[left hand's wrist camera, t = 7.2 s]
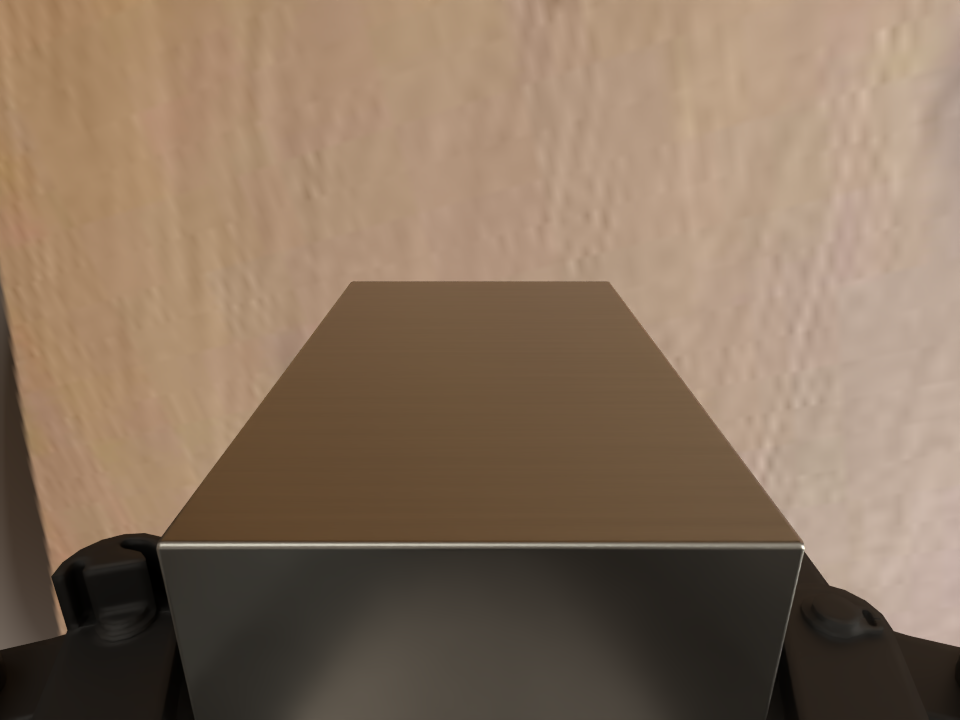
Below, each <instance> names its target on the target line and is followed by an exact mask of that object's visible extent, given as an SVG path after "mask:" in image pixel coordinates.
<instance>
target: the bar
mask: <svg viewBox="0 0 960 720" xmlns="http://www.w3.org/2000/svg"><path fill="white" fill-rule="evenodd" d="M157 554H158V558H159V562H160V567H161V571H162V576H163V580H164V585H165V589H166V594H167V598H168V603H169V607H170V611H171V616H172V620H173V625H174V629H175V634H176V638H177V643H178V647H179V652H180V656H181V660H182V665H183V669H184V674H185V678H186V683H187V687H188V692H189V696H190V701H191V705H192V709H193V714H194V718H195V720H766V718H767V713H768V709H769V704H770V700H771V695H772V691H773V687H774V682H775V678H776V673H777V669H778V664H779V660H780V656H781V651H782V647H783V642H784V638H785V633H786V629H787V624H788V620H789V616H790V611H791V607H792V602H793V598H794V593H795V589H796V585H797V580H798V576H799V571H800V567H801V562H802V558H803V554H804V543H803V541H802V540H801V538H800V537H799V536H798V534H797V533H796V532H795V530H794V529H793V528H792V526H791V525H790V524H789V522H788V521H787V520H786V518H785V517H784V516H783V514H782V513H781V512H780V510H779V509H778V508H777V506H776V505H775V503H774V502H773V501H772V499H771V498H770V497H769V495H768V494H767V493H766V491H765V490H764V489H763V487H762V486H761V485H760V483H759V482H758V481H757V479H756V478H755V477H754V475H753V474H752V473H751V471H750V470H749V469H748V467H747V466H746V465H745V463H744V462H743V461H742V459H741V458H740V457H739V455H738V454H737V453H736V451H735V450H734V449H733V447H732V446H731V445H730V443H729V442H728V441H727V439H726V438H725V437H724V435H723V434H722V433H721V431H720V430H719V429H718V427H717V426H716V425H715V423H714V422H713V420H712V419H711V418H710V416H709V415H708V414H707V412H706V411H705V410H704V408H703V407H702V406H701V404H700V403H699V402H698V400H697V399H696V398H695V396H694V395H693V394H692V392H691V391H690V390H689V388H688V387H687V386H686V384H685V383H684V382H683V380H682V379H681V378H680V376H679V375H678V374H677V372H676V371H675V370H674V368H673V367H672V366H671V364H670V363H669V362H668V360H667V359H666V358H665V356H664V355H663V354H662V352H661V351H660V350H659V348H658V347H657V346H656V344H655V343H654V341H653V340H652V339H651V337H650V336H649V335H648V333H647V332H646V331H645V329H644V328H643V327H642V325H641V324H640V323H639V321H638V320H637V319H636V317H635V316H634V315H633V313H632V312H631V311H630V309H629V308H628V307H627V305H626V304H625V303H624V301H623V300H622V299H621V297H620V296H619V295H618V293H617V292H616V291H615V289H614V288H613V287H612V285H611V284H610V283H609V282H351V283H350V284H349V286H348V287H347V288H346V290H345V291H344V292H343V294H342V295H341V296H340V298H339V299H338V301H337V302H336V303H335V305H334V306H333V307H332V309H331V310H330V311H329V313H328V314H327V315H326V317H325V318H324V319H323V321H322V322H321V323H320V325H319V326H318V327H317V329H316V330H315V331H314V333H313V334H312V335H311V337H310V338H309V339H308V341H307V342H306V343H305V345H304V346H303V348H302V349H301V350H300V352H299V353H298V354H297V356H296V357H295V358H294V360H293V361H292V362H291V364H290V365H289V366H288V368H287V369H286V370H285V372H284V373H283V374H282V376H281V377H280V378H279V380H278V381H277V382H276V384H275V385H274V386H273V388H272V389H271V390H270V392H269V393H268V395H267V396H266V397H265V399H264V400H263V401H262V403H261V404H260V405H259V407H258V408H257V409H256V411H255V412H254V413H253V415H252V416H251V417H250V419H249V420H248V421H247V423H246V424H245V425H244V427H243V428H242V429H241V431H240V432H239V433H238V435H237V436H236V437H235V439H234V440H233V442H232V443H231V444H230V446H229V447H228V448H227V450H226V451H225V452H224V454H223V455H222V456H221V458H220V459H219V460H218V462H217V463H216V464H215V466H214V467H213V468H212V470H211V471H210V472H209V474H208V475H207V476H206V478H205V479H204V480H203V482H202V483H201V484H200V486H199V487H198V489H197V490H196V491H195V493H194V494H193V495H192V497H191V498H190V499H189V501H188V502H187V503H186V505H185V506H184V507H183V509H182V510H181V511H180V513H179V514H178V515H177V517H176V518H175V519H174V521H173V522H172V523H171V525H170V526H169V527H168V529H167V530H166V531H165V533H164V534H163V536H162V537H161V538H160V540H159V541H158V543H157Z"/></svg>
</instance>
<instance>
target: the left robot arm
mask: <svg viewBox="0 0 960 720" xmlns="http://www.w3.org/2000/svg"><path fill="white" fill-rule="evenodd" d="M160 538H161V537H159V536H155V535H150V534H146V533H139V534H123V535H119V536H116V537H112V538H108V539H104V540H101V541H99V542H96V543H94V544H92V545H90V546H87V547H85V548H83V549H81V550H79V551H78V552H76V553H75V554H74V555H72V556H71V557H69V558H68V559H67V560H65V561H64V562H62V564H61V565H60V566H59V568H58V569H57V570H56V571H55V573H54V574H53V575H52V576H51V577H52V581H53V584H54V587H55V591H56V594H57V597H58V600H59V604H60V607H61V610H62V614H63V617H64V620H65V623H66V627H67V630H68V631H67V633H66V634H65V635H62V636H58V637H55V638H52V639H48V640H43V641H38V642H34V643H30V644H26V645H21V646H17V647H12V648H8V649H4V650H0V720H195V718H194V714H193V709H192V705H191V701H190V696H189V692H188V687H187V683H186V678H185V674H184V669H183V665H182V660H181V656H180V652H179V647H178V643H177V638H176V634H175V629H174V625H173V620H172V616H171V611H170V607H169V603H168V598H167V594H166V589H165V585H164V580H163V576H162V571H161V567H160V562H159V558H158V554H157V543H158V541H159V540H160ZM766 720H960V647H956V646H951V645H947V644H943V643H938V642H934V641H929V640H925V639H921V638H916V637H912V636H908V635H905V634H901V633H898V632H894V631H893V629H892V628H891V627H890V625H889V624H888V622H887V621H886V619H885V618H884V616H883V615H882V614H881V613H880V612H879V611H878V610H876V609H875V608H874V607H873V606H871V605H870V604H869V603H868V602H867V601H865V600H863V599H861V598H859V597H857V596H855V595H853V594H851V593H850V592H848V591H846V590H843V589H839V588H836V587H832V586H829V585H828V583H827V582H826V581H825V579H824V578H823V576H822V575H821V574H820V572H819V571H818V570H817V568H816V567H815V566H814V564H813V563H812V561H811V560H810V559H809V557H808V556H807V555H806V553H805V552H804V554H803V558H802V562H801V567H800V571H799V576H798V580H797V585H796V589H795V593H794V598H793V602H792V607H791V611H790V616H789V620H788V624H787V629H786V633H785V638H784V642H783V647H782V651H781V656H780V660H779V664H778V669H777V673H776V678H775V682H774V687H773V691H772V695H771V700H770V704H769V709H768V713H767V718H766Z"/></svg>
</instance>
